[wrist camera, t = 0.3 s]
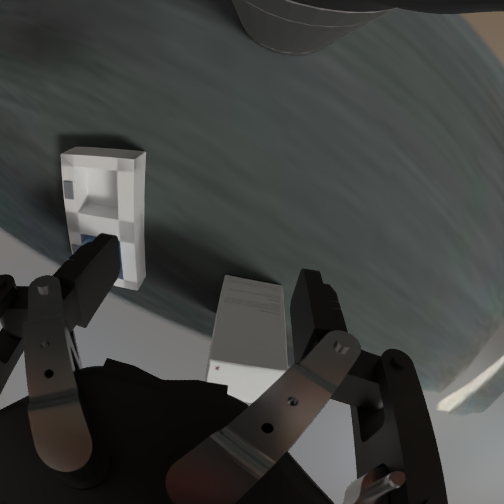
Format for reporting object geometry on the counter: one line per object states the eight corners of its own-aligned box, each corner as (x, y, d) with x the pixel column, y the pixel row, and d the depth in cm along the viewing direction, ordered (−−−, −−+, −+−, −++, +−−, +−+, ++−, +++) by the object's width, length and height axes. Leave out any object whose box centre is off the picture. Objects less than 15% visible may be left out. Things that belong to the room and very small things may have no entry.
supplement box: (215, 314, 39) (200, 396, 28) (224, 272, 35) (207, 359, 24) (269, 325, 39) (268, 406, 29) (285, 284, 35) (289, 372, 25)
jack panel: (75, 146, 26) (59, 154, 24) (146, 151, 27) (133, 160, 24) (87, 262, 35) (76, 276, 32) (145, 275, 36) (137, 291, 33)
